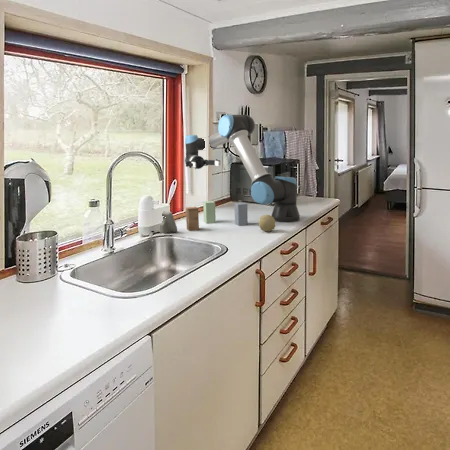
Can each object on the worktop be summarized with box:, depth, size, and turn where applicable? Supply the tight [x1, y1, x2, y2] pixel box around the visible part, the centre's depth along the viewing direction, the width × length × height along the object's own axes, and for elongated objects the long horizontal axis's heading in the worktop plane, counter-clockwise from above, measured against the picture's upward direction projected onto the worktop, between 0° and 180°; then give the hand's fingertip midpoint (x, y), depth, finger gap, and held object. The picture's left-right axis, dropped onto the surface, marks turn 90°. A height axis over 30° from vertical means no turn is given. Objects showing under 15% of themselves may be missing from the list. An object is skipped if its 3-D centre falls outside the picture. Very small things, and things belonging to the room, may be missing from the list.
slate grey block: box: [234, 202, 249, 227], centre depth 228 cm, size 5×5×11 cm
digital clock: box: [159, 210, 178, 234], centre depth 217 cm, size 16×9×11 cm, turn 44°
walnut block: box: [185, 206, 200, 232], centre depth 219 cm, size 5×5×11 cm
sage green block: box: [202, 200, 217, 224], centre depth 235 cm, size 5×5×11 cm
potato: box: [258, 214, 276, 232], centre depth 211 cm, size 8×8×8 cm
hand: (207, 164), depth 242 cm, fingers open, 13 cm apart
